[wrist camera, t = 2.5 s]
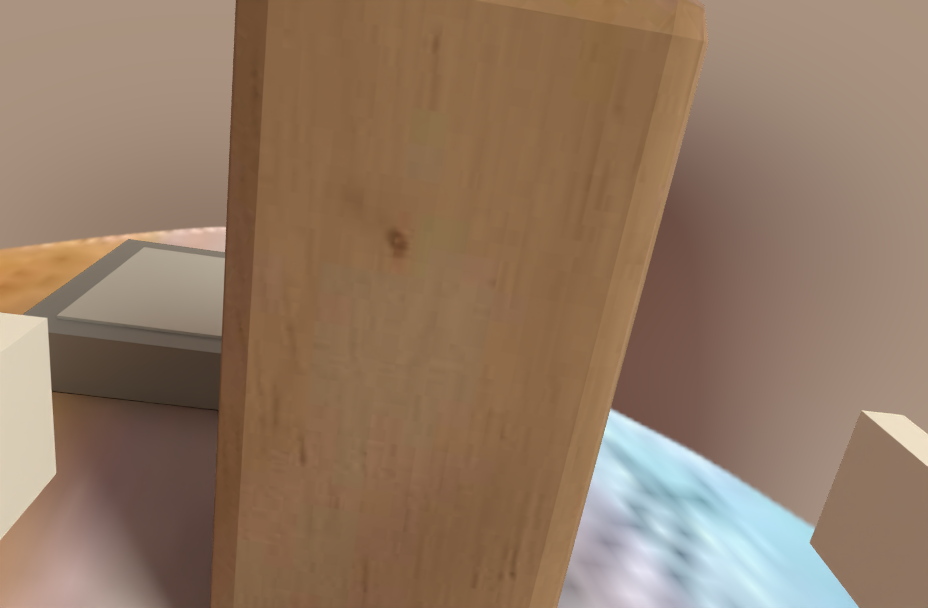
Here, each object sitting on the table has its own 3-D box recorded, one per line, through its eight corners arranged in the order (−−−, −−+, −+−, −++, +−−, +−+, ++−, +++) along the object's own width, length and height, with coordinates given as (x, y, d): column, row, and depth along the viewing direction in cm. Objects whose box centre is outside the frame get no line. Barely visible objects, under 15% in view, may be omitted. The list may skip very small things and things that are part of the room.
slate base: (9, 386, 32) (5, 323, 31) (128, 283, 45) (128, 236, 44) (315, 421, 34) (321, 362, 33) (345, 311, 47) (351, 267, 46)
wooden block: (195, 673, 20) (221, -102, 13) (290, 474, 30) (336, -43, 23) (533, 727, 20) (738, -12, 13) (523, 513, 30) (640, 10, 23)
